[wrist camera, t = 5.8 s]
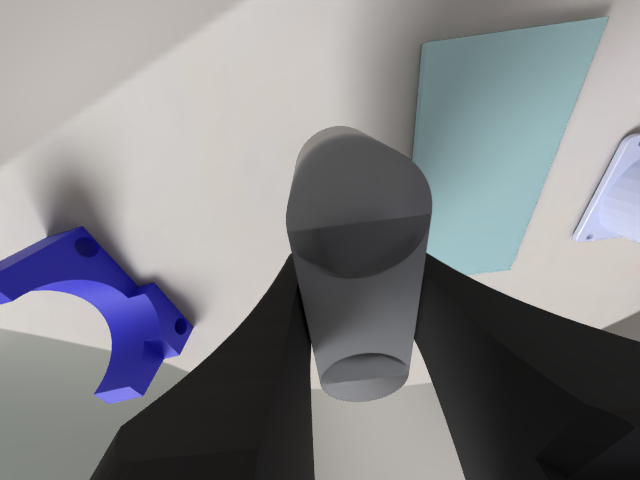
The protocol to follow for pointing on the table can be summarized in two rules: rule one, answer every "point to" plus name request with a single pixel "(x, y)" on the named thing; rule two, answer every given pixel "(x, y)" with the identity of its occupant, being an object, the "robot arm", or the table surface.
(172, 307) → the cable clip
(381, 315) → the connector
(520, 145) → the rubber mat
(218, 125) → the table surface
